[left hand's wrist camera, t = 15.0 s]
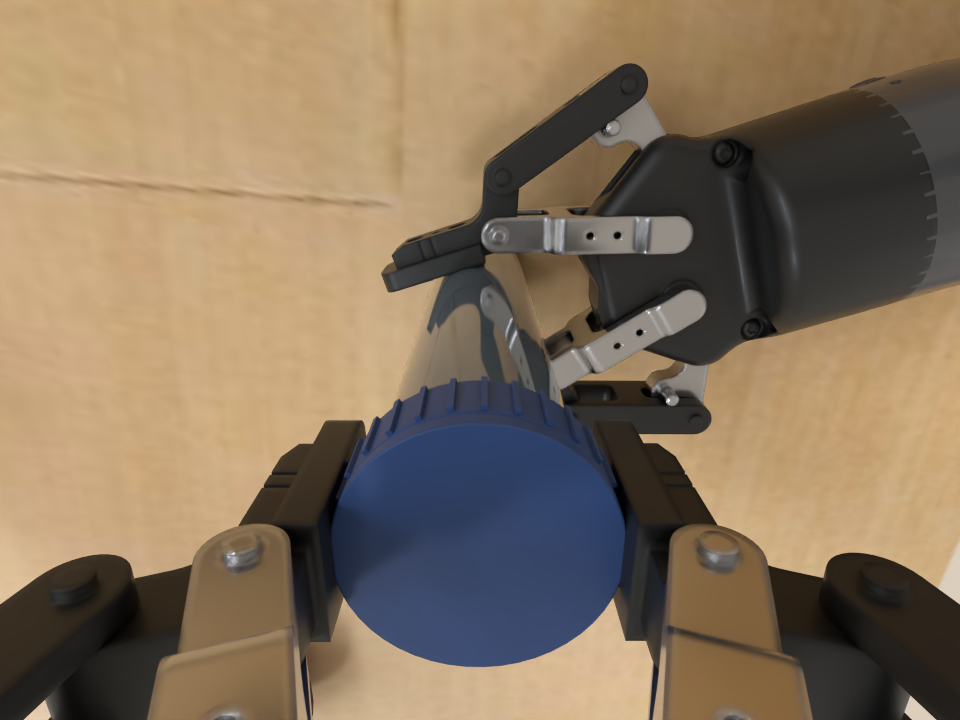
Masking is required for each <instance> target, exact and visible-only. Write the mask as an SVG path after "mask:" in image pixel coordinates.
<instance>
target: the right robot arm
mask: <svg viewBox="0 0 960 720" xmlns="http://www.w3.org/2000/svg"><path fill="white" fill-rule="evenodd" d="M647 88H648V78H647V75H646V73H645V71H644V70H643V69H642V68H641V67H640V66H638V65H636V64H624V65H622V66H620V67H618V68H616V69H614V70H612V71H610V72H608V73H606V74H604V75H603V76H601V77H600V78H599V79H597V80H596V81H595V82H593V83H592V84H591V85H589V86H588V87H587V88H585V89H584V90H583V91H581V92H580V93H578V94H577V95H576V96H574V97H573V98H572V99H570V100H569V101H568V102H566V103H565V104H564V105H562V106H561V107H560V108H558V109H557V110H556V111H554V112H553V113H552V114H550V115H549V116H548V117H546V118H545V119H543V120H542V121H541V122H539V123H538V124H537V125H535V126H534V127H533V128H531V129H530V130H529V131H527V132H526V133H525V134H523V135H522V136H521V137H519V138H518V139H517V140H515V141H514V142H513V143H511V144H510V145H509V146H507V147H506V148H504V149H503V150H502V151H500V152H499V153H498V154H496V155H495V156H494V157H492V158H491V159H490V160H489V161H488V162H487V163H486V165H485V167H484V176H483V198H482V205H481V208H480V210H479V211H478V213H477V214H476V215H475V216H474V217H472V218H471V219H469V220H466V221H463V222H460V223H456V224H453V225H450V226H447V227H444V228H441V229H438V230H435V231H432V232H428V233H425V234H423V235H419V236H416V237H413V238H410V239H407V240H406V241H405V242H404V243H403V244H401V245H400V246H399V247H398V248H397V249H396V250H395V252H394V253H393V254H392V257H393V260H394V262H393V263H391V264H389V265H387V266H386V267H385V269H384V270H383V272H382V273H381V275H382V277H383V280H384V283H385V285H386V288H387V291H388V292H395V291H399V290H402V289H405V288H409V287H412V286H415V285H418V284H421V283H425V282H428V281H431V280H434V279H437V278H441V277H444V276H447V275H450V274H453V273H456V272H458V271H462V270H465V269H470V268H473V267H476V266H479V265H482V264H486V256H487V255H490V254H493V253H496V254H507V253H552V254H557V255H578V256H579V259H580V261H581V262H582V264H583V266H584V267H585V269H586V271H587V273H588V275H589V299H590V303H591V307H589V308H588V309H586V310H584V311H583V312H581V313H580V314H578V315H576V316H575V317H573V318H572V319H571V320H570V321H569V322H568V323H567V324H566V326H565V327H564V328H563V329H561V330H560V331H558V332H556V333H555V334H553V335H551V336H550V337H548V338H547V339H545V343H546V346H547V349H548V352H549V355H550V358H551V362H552V365H553V368H554V371H555V374H556V377H557V380H558V384H559V387H560V390H561V393H562V396H563V399H564V402H565V406H566V405H568V406H569V407H571V410H572V413H573V416H574V417H575V418H576V419H577V420H578V421H579V422H580V423H581V424H582V425H583V426H585V425H586V424H588V425H589V427H590V428H591V431H592V425H593V422H594V420H631V421H632V423H633V425H634V427H635V428H636V430H637V432H638V434H698V433H701V432H703V431H704V430H706V429H707V428H708V427H709V425H710V423H711V414H710V412H709V411H708V409H707V408H706V407H705V406H704V404H703V397H704V390H705V384H706V378H707V371H708V365H709V364H712V363H714V362H716V361H718V360H719V359H721V358H722V357H723V356H724V355H725V354H727V353H728V352H729V351H730V350H731V349H733V348H734V347H736V346H737V345H739V344H741V343H743V342H746V341H749V340H753V339H759V338H766V337H772V336H778V335H782V334H786V333H789V332H793V331H796V330H800V329H803V328H807V327H810V326H814V325H817V324H821V323H824V322H828V321H832V320H835V319H839V318H842V317H846V316H849V315H853V314H856V313H860V312H863V311H867V310H870V309H874V308H877V307H881V306H884V305H888V304H891V303H895V302H898V301H902V300H905V299H909V298H912V297H916V296H920V295H923V294H927V293H930V292H934V291H938V290H941V289H945V288H948V287H952V286H956V285H959V284H960V58H959V59H953V60H947V61H943V62H938V63H933V64H929V65H926V66H922V67H919V68H915V69H912V70H908V71H905V72H902V73H899V74H896V75H892V76H889V77H880V78H872V79H869V80H866V81H863V82H861V83H858V84H856V85H854V86H852V87H850V88H849V89H848V90H846V91H843V92H840V93H836V94H833V95H830V96H827V97H824V98H821V99H818V100H815V101H812V102H809V103H806V104H802V105H799V106H796V107H793V108H790V109H787V110H784V111H781V112H778V113H775V114H772V115H768V116H765V117H762V118H759V119H756V120H753V121H750V122H747V123H744V124H741V125H738V126H734V127H731V128H728V129H725V130H722V131H719V132H716V133H713V134H710V135H706V136H702V137H696V138H694V137H688V136H684V135H680V134H666V133H665V131H664V129H663V128H662V126H661V124H660V122H659V120H658V119H657V117H656V115H655V113H654V111H653V109H652V108H651V106H650V104H649V102H648V100H647V99H646V97H645V93H646V91H647ZM587 139H589V140H590V142H591V143H592V144H594V145H596V146H599V147H613V146H615V145H617V144H619V143H622V142H627V143H629V144H631V145H632V146H633V147H634V149H635V151H634V152H633V154H632V155H631V156H630V157H629V159H628V160H627V161H626V162H625V164H624V165H623V166H622V168H621V169H620V170H619V171H618V173H617V174H616V175H615V176H614V178H613V179H612V180H611V181H610V183H609V184H608V185H607V187H606V188H605V189H604V190H603V192H602V193H601V194H600V195H599V197H598V198H597V199H596V200H595V202H594V203H593V204H592V206H554V207H544V208H536V209H518V194H519V188H520V187H521V186H523V185H524V184H526V183H527V182H528V181H530V180H531V179H533V178H534V177H535V176H537V175H538V174H539V173H541V172H542V171H544V170H545V169H546V168H548V167H549V166H551V165H552V164H553V163H555V162H556V161H557V160H559V159H560V158H562V157H563V156H564V155H566V154H567V153H569V152H570V151H571V150H573V149H574V148H576V147H577V146H578V145H580V144H581V143H582V142H584V141H585V140H587ZM615 343H616V344H615ZM614 344H615V345H614ZM640 350H645V351H649V352H652V353H655V354H658V355H661V356H664V357H667V358H670V359H673V360H676V361H675V363H674V364H673V365H672V366H670V367H669V368H667V369H664V370H658V371H655V372H652V373H651V374H650V375H649V376H648V378H647V379H646V381H577V380H579V379H581V378H583V377H584V376H586V375H588V374H591V373H594V374H598V373H602V372H604V371H606V370H608V369H609V368H611V367H613V366H614V365H616V364H618V363H620V362H621V361H623V360H625V359H626V358H628V357H630V356H632V355H633V354H635V353H637V352H638V351H640Z"/></svg>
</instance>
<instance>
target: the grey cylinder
mask: <svg viewBox="0 0 960 720" xmlns="http://www.w3.org/2000/svg"><path fill="white" fill-rule="evenodd" d="M481 376H487V378H488V381H497V382H503V383H510V384H511V382H512V380H515V381H518V385H519V386H521V387H524V388H528V389H530V390H532V391H535V392H537V393H539V392H540V391H541V390H543V391H545V392H546V393H547V396H548V398H549V399H551V400H553V401H554V402H556V403H558V404H559V405H561V406H562V407H563V408H564V407H565V402H564V399H563V396H562V393H561V390H560V387H559V384H558V380H557V377H556V374H555V371H554V368H553V365H552V362H551V358H550V355H549V352H548V349H547V346H546V343H545V340H544V336H543V333H542V330H541V327H540V324H539V321H538V318H537V314H536V311H535V308H534V305H533V302H532V299H531V296H530V292H529V289H528V286H527V283H526V280H525V277H524V274H523V270H522V267H521V264H520V261H519V259H518V257H517V255H516V253H507V254H496V253H493V254H490V255H487V256H486V264H482V265H479V266H476V267H473V268H470V269H465V270H462V271H458V272H456V273H453V274H450V275H447V276H444V277H441V278H437V279H434V280H433V282H432V285H431V288H430V291H429V294H428V297H427V300H426V303H425V306H424V309H423V313H422V316H421V319H420V322H419V325H418V328H417V331H416V334H415V337H414V340H413V343H412V346H411V349H410V352H409V355H408V359H407V362H406V365H405V368H404V371H403V374H402V377H401V380H400V383H399V386H398V389H397V392H396V395H395V398H394V401H393V405H394V402H395V401H396V400H398V399H400V400H401V401H404V400H405V399H407V398H409V397H411V396H413V395H415V394H417V393H419V392H420V389H421V387H423V386H427V388H428V389H430V388H433V387H436V386H439V385H444V384H448V383H450V379H452V378H456V379H457V382H460V381H471V380H481ZM393 405H392V408H393ZM392 408H391V409H392Z"/></svg>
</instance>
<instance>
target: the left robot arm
mask: <svg viewBox="0 0 960 720" xmlns="http://www.w3.org/2000/svg"><path fill="white" fill-rule="evenodd" d="M592 434H593V436H594V439H595V441H596V444H597V447H598V448H599V447H601V446H602V448H603V450H604V452H605V455H606V457H607V460H608V462H609V465H610V467H611V470H612V472H613V475H614V477H615V480H616V482H617V485H618V486H617V487H615V488H614V491H615V494H616V496H617V499H618V501H619V504H620V507H621V510H622V513H623V516H624V519H625V526H626V529H625V541H624V550H623V559H622V569H621V578H620V584H619V586H618V588H617V590H616V592H615V594H614V597H613V598H614V602H615V605H616V609H617V612H618V616H619V619H620V623H621V626H622V629H623V633H624V636H625V640H626V641H646V642H647V645H648V648H649V651H650V654H651V657H652V660H653V666H652V673H651V684H650V696H649V709H648V720H912V719H910V718H909V717H908V716H907V715H906V714H905V713H904V711H905V709H906V706H907V703H908V700H909V697H910V695H911V696H912V697H913V698H914V699H915V700H916V701H917V702H918V703H919V704H920V705H921V706H922V707H924V708H925V709H926V710H927V711H928V712H929V713H930V714H931V715H932V716H933V717H934V718H935V719H936V720H960V604H958V603H957V602H956V601H954V600H953V599H951V598H950V597H949V596H947V595H946V594H944V593H943V592H942V591H940V590H939V589H938V588H936V587H935V586H933V585H932V584H931V583H929V582H928V581H927V580H925V579H924V578H922V577H921V576H920V575H918V574H916V573H915V572H913V571H912V570H910V569H908V568H906V567H904V566H902V565H900V564H898V563H896V562H893V561H891V560H888V559H885V558H882V557H878V556H875V555H870V554H864V553H844V554H840V555H836V556H835V557H833V558H831V559H830V560H829V562H828V564H827V566H826V570H825V574H824V578H820V577H816V576H811V575H806V574H802V573H797V572H792V571H788V570H783V569H779V568H775V567H772V566H769V565H768V563H767V559H766V556H765V555H764V553H763V551H762V550H761V549H760V548H759V546H758V545H756V544H755V543H754V542H753V541H752V540H750V539H749V538H747V537H746V536H744V535H742V534H741V533H739V532H736V531H734V530H732V529H729V528H726V527H722V526H718V525H717V523H716V522H715V520H714V519H713V517H712V515H711V514H710V512H709V510H708V509H707V507H706V506H705V504H704V502H703V501H702V499H701V497H700V496H699V494H698V492H697V491H696V489H695V488H694V487H692V483H691V481H690V479H689V478H688V476H687V475H685V471H684V470H683V468H682V466H681V465H680V463H679V461H678V460H677V458H676V456H674V455H673V454H671V453H670V452H669V451H667V450H666V449H664V448H663V447H662V446H660V445H659V444H657V443H643V442H642V440H641V438H640V436H639V434H638V432H637V430H636V428H635V427H634V425H633V423H632V421H631V420H594V422H593V425H592ZM359 438H362V439H365V438H366V432H365V426H364V422H363V421H362V420H328V421H326V422H325V423H324V425H323V427H322V429H321V430H320V432H319V434H318V436H317V438H316V440H315V441H314V443H313V444H299V445H297V446H296V447H294V448H293V449H292V450H290V451H289V452H287V453H286V454H285V455H283V456H282V457H281V458H280V460H279V461H278V463H277V464H276V466H275V468H274V469H273V471H272V475H270V476H269V477H268V479H267V481H266V482H265V484H264V488H262V489H261V490H260V492H259V493H258V495H257V497H256V498H255V500H254V502H253V503H252V505H251V506H250V508H249V510H248V511H247V513H246V514H245V516H244V518H243V519H242V521H241V522H240V524H239V526H238V527H234V528H231V529H228V530H226V531H224V532H221V533H219V534H218V535H216V536H214V537H213V538H211V539H210V540H208V541H207V542H206V543H205V544H204V545H202V546H201V548H200V549H199V550H198V551H197V553H196V555H195V556H194V559H193V563H192V565H189V566H186V567H184V568H180V569H176V570H172V571H167V572H163V573H158V574H153V575H149V576H144V577H139V578H135V579H134V576H133V572H132V568H131V566H130V563H129V562H128V561H127V560H126V559H124V558H122V557H119V556H116V555H109V554H100V555H91V556H86V557H82V558H78V559H75V560H72V561H69V562H66V563H63V564H61V565H59V566H57V567H55V568H53V569H51V570H49V571H47V572H45V573H44V574H42V575H41V576H39V577H38V578H36V579H35V580H33V581H32V582H31V583H29V584H28V585H27V586H25V587H24V588H22V589H21V590H20V591H18V592H17V593H15V594H14V595H13V596H11V597H10V598H9V599H7V600H6V601H4V602H3V603H2V604H0V720H24V719H25V718H26V717H27V716H28V715H29V714H30V713H31V712H32V711H33V710H34V709H35V708H37V707H38V706H39V705H40V704H41V703H42V702H43V701H44V700H45V701H46V704H47V706H48V709H49V712H50V715H51V718H49V719H48V720H312V709H311V696H310V684H309V673H308V666H307V659H306V651H307V648H308V645H309V642H330V641H331V638H332V634H333V631H334V628H335V624H336V621H337V617H338V614H339V611H340V607H341V604H342V601H343V597H344V596H343V595H342V593H341V591H340V589H339V587H338V584H337V581H336V574H335V565H334V556H333V547H332V537H331V523H332V519H333V515H334V511H335V509H336V506H337V504H336V496H337V493H338V491H339V488H340V486H341V483H342V481H343V478H344V474H345V472H346V469H347V467H348V464H349V462H350V459H351V457H352V454H353V452H354V449H355V447H356V444H357V442H358V440H359Z"/></svg>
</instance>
